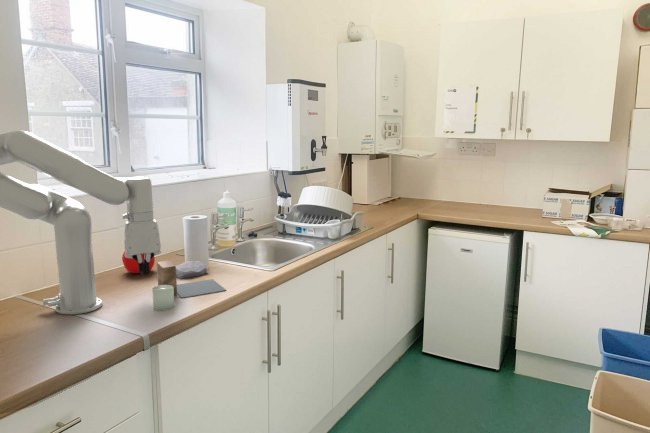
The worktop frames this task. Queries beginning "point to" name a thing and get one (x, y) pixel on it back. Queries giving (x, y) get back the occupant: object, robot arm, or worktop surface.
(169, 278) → the brown wooden block
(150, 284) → the worktop surface
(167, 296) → the rounded cube
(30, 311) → the worktop surface
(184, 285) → the mat
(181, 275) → the stone block
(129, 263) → the tomato
